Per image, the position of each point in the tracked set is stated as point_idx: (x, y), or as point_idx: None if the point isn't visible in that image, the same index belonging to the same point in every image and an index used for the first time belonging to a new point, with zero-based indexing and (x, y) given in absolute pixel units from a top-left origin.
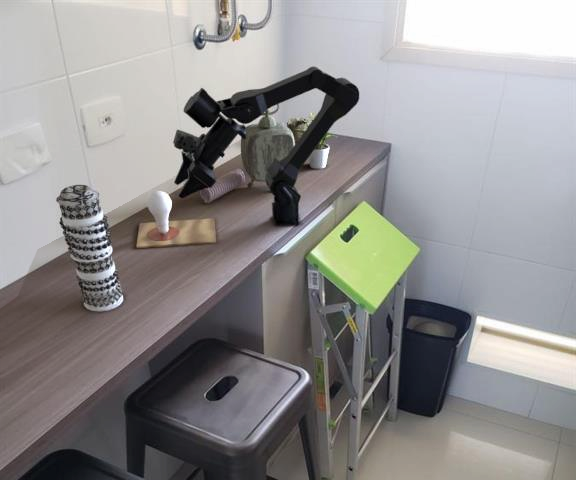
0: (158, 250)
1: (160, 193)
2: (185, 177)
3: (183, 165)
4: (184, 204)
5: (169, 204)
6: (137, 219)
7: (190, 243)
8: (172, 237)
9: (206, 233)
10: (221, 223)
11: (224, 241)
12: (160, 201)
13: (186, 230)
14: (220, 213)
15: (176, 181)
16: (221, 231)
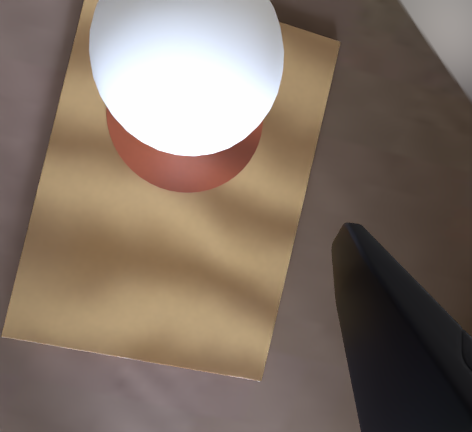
0: (34, 56)
1: (160, 35)
2: (356, 351)
3: (465, 419)
4: (468, 283)
5: (120, 122)
6: (397, 49)
7: (32, 213)
8: (121, 145)
9: (105, 311)
10: (209, 402)
11: (6, 375)
12: (97, 32)
13: (177, 227)
14: (316, 420)
15: (347, 244)
16: (123, 384)
